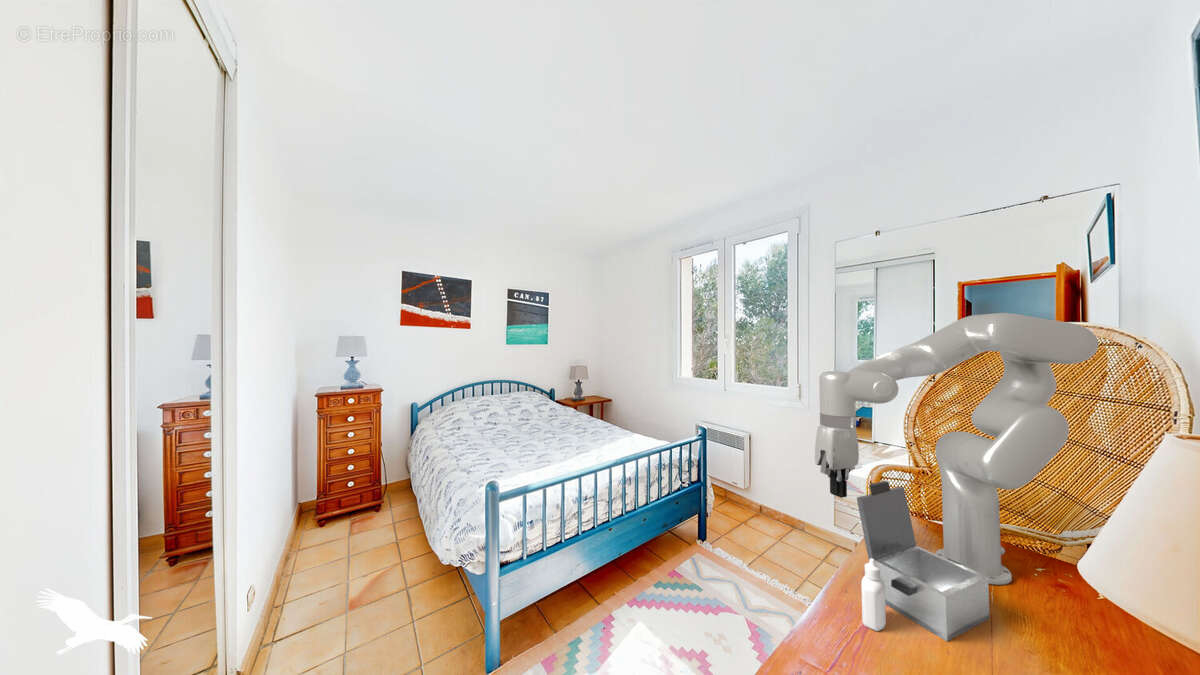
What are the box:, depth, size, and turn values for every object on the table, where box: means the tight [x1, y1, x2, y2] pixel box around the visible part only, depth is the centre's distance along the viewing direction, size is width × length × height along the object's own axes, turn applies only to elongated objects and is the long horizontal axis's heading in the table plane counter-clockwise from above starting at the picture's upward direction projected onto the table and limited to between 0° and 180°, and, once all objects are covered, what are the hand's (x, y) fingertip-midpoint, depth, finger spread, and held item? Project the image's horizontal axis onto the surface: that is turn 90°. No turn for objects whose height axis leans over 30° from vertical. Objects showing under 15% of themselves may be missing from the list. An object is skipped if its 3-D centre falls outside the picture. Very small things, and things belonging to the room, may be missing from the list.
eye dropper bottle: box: [860, 558, 887, 632], centre depth 71 cm, size 4×6×12 cm
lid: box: [856, 480, 917, 561], centre depth 82 cm, size 15×15×1 cm
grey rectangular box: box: [875, 545, 991, 642], centre depth 74 cm, size 19×12×8 cm, turn 111°
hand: (838, 495), depth 91 cm, fingers closed
